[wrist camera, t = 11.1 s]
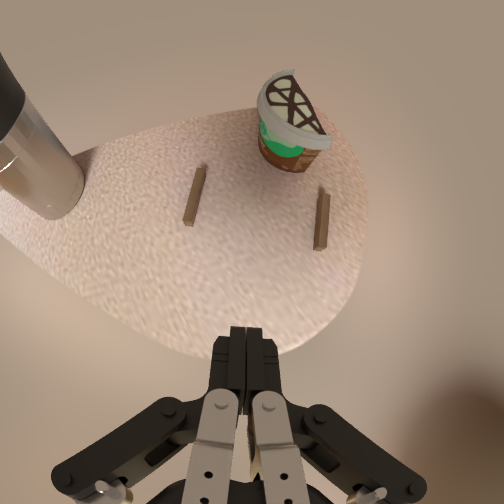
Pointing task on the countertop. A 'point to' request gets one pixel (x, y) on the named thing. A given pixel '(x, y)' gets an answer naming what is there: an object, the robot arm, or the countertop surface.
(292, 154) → the food container
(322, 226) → the slot rails
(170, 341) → the countertop surface
